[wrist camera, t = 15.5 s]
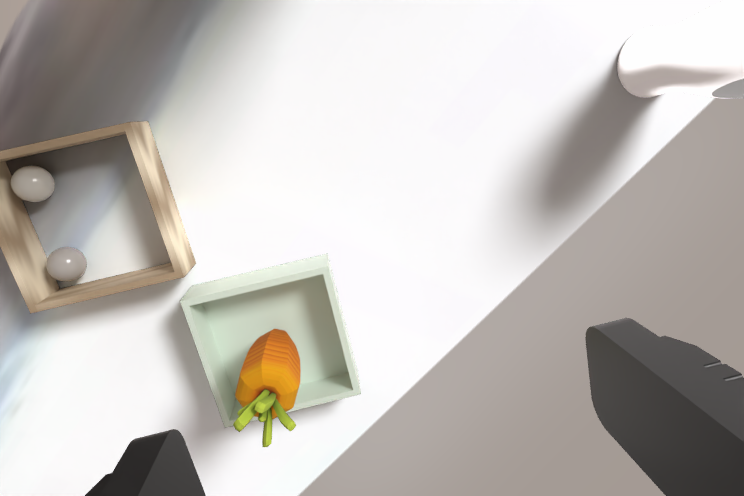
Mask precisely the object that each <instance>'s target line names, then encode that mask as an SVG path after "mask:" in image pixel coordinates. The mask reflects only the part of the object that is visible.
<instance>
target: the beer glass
mask: <svg viewBox="0 0 744 496" xmlns="http://www.w3.org/2000/svg"><path fill="white" fill-rule="evenodd" d="M617 70H618V76H619V80H620V82H621V84H622V85H623V87H624V88H625V89H626V90H627V91H628V92H629V93H631V94H632V95H634V96H637V97H642V98H648V97H654V96H658V95H661V94H664V93H666V92H670V91H679V92H685V93H689V94H694V95H700V96H705V97H714V98H725V99H732V98H733V99H734V98H744V0H724V1H722V2H719V3H717V4H715V5H713V6H711V7H708V8H707V9H705V10H703V11H701V12H699V13H697V14H695V15H693V16H691V17H690V18H688V19H686V20H684V21H682V22H680V23H678V24H675V25H672V26H650V27H646V28H643V29H641V30H639V31H637V32H636V33H634V34H633V35H632V36H631V37H630V38H629V39H628V40H627V41H626V43H625V44H624V46H623V47H622V49H621V52H620V54H619V58H618V64H617Z"/></svg>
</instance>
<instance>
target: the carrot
mask: <svg viewBox="0 0 744 496" xmlns="http://www.w3.org/2000/svg"><path fill="white" fill-rule="evenodd" d="M300 372H301V369H300V357H299V354H298V351H297V348H296V345H295V344H294V342H293V341H292V339H291V338H290V336H289V335H288V333H287V332H286V331H284V330H279V329H275V328H274V329H273V330H271V331H269V332H267V333H266V334H264V335H262V336H260V337H259V338H258V339H257V340H256V341H255V342H254V344H253V345H252V346H251V348H250V349H249V351H248V353H247V356H246V358H245V360H244V363H243V366H242V369H241V372H240V376H239V380H238V384H237V388H236V392H235V397H236V399H237V400H238V402H239V403H240V404H241V406H242V407H243V408H242V409H240V410H239V411H238V413H237V414H238V416H239V417H238V418H237V419H236V421H235V422H234V424H233V425H234V427H235V429H236V430H238V431H239V432H240V431H241V430H242V429H243V428H244V427H245V426H246V425H247V424H248V423H249V422H250V420H251V419H252V418H253V417H254V416H255V417H258V420H259V421H260V422H264V421H265V422H264V430H263V441H262V442H263V447H268V446H269V445H270V444H271V440H272V419H274V418H276V417H278V418H279V420H280V422H281V423H282V424H283V425H284V427H286V428H287V429H288V430H289V431H292V430H293V429H294V428H295V426H296V424H295V423H294V421H293V420H292V419H291V418H290V417H289V416H288V415H287V413H286V412H287V411H289V410H290V409H292V408H293V407H294V404H295V400H296V396H297V393H298V389H299V385H300Z"/></svg>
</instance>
